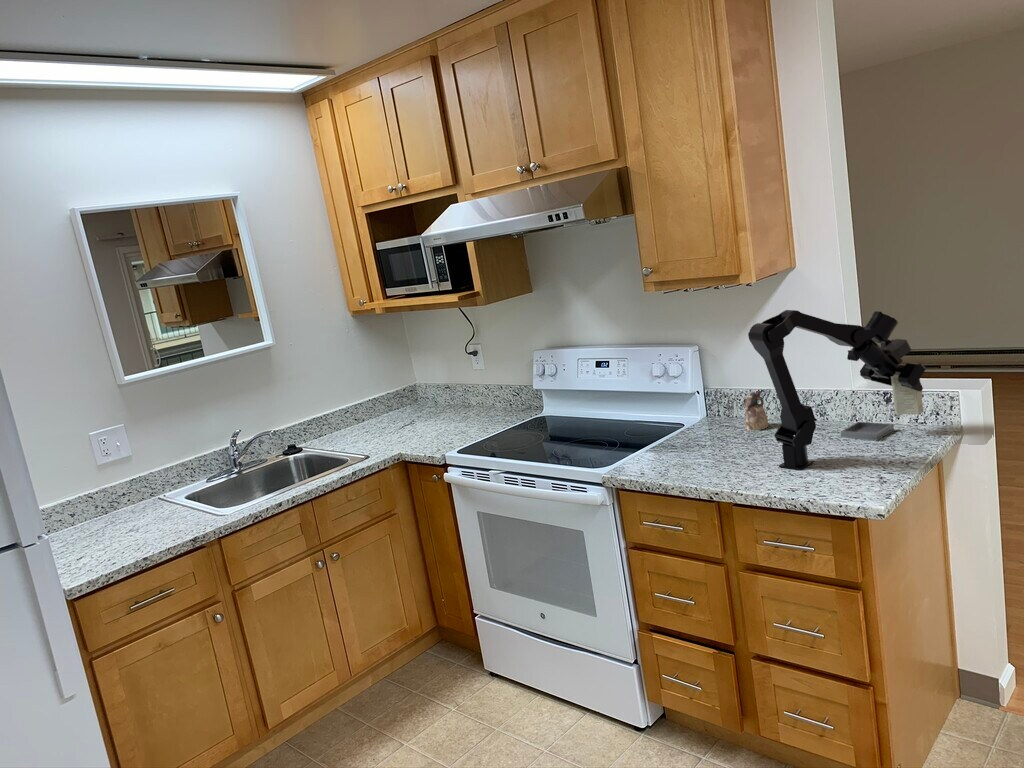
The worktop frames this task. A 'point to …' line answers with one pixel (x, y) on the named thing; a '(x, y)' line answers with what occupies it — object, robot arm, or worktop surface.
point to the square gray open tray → (867, 430)
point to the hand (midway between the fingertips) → (910, 388)
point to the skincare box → (906, 398)
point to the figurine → (755, 412)
